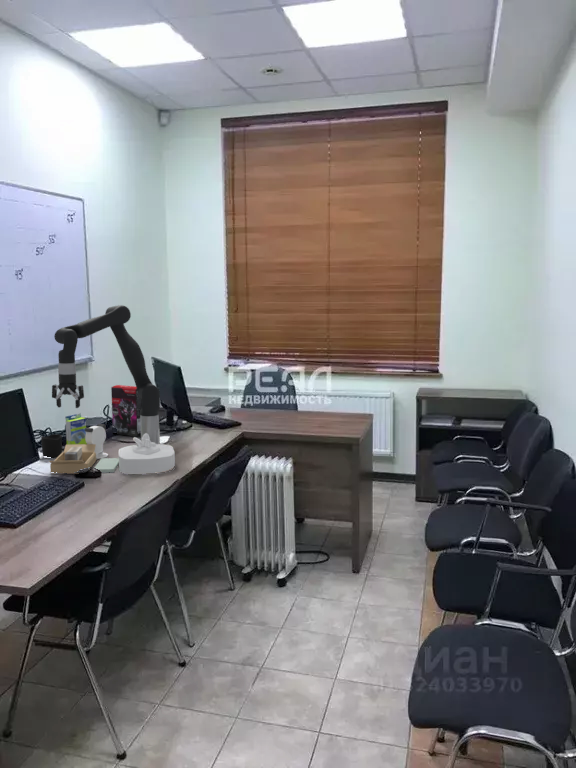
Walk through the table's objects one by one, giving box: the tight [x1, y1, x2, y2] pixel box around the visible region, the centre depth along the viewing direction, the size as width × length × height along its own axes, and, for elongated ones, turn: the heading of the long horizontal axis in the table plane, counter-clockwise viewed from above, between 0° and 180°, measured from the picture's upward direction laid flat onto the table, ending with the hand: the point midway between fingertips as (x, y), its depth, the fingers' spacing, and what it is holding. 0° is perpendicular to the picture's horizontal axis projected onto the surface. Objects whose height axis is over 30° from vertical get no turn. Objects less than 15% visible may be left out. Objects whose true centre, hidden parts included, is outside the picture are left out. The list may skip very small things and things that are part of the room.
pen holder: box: [40, 433, 63, 459], centre depth 306 cm, size 9×9×10 cm
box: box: [64, 412, 87, 445], centre depth 320 cm, size 10×4×17 cm, turn 151°
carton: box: [48, 444, 97, 474], centre depth 288 cm, size 16×28×7 cm, turn 5°
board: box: [94, 457, 119, 474], centre depth 290 cm, size 9×18×2 cm, turn 5°
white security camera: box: [85, 423, 109, 460], centre depth 307 cm, size 12×11×15 cm
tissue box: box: [118, 433, 176, 475], centre depth 291 cm, size 25×25×16 cm
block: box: [65, 447, 83, 461], centre depth 288 cm, size 4×13×8 cm, turn 5°
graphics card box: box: [110, 384, 142, 437], centre depth 350 cm, size 17×7×27 cm, turn 68°
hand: (68, 407), depth 289 cm, fingers open, 8 cm apart
